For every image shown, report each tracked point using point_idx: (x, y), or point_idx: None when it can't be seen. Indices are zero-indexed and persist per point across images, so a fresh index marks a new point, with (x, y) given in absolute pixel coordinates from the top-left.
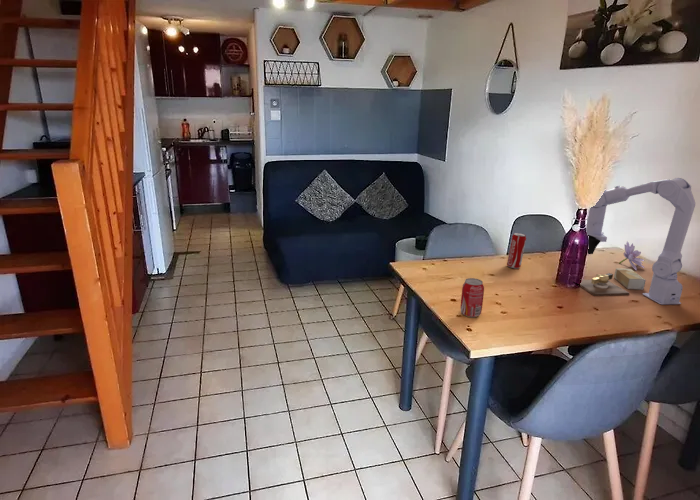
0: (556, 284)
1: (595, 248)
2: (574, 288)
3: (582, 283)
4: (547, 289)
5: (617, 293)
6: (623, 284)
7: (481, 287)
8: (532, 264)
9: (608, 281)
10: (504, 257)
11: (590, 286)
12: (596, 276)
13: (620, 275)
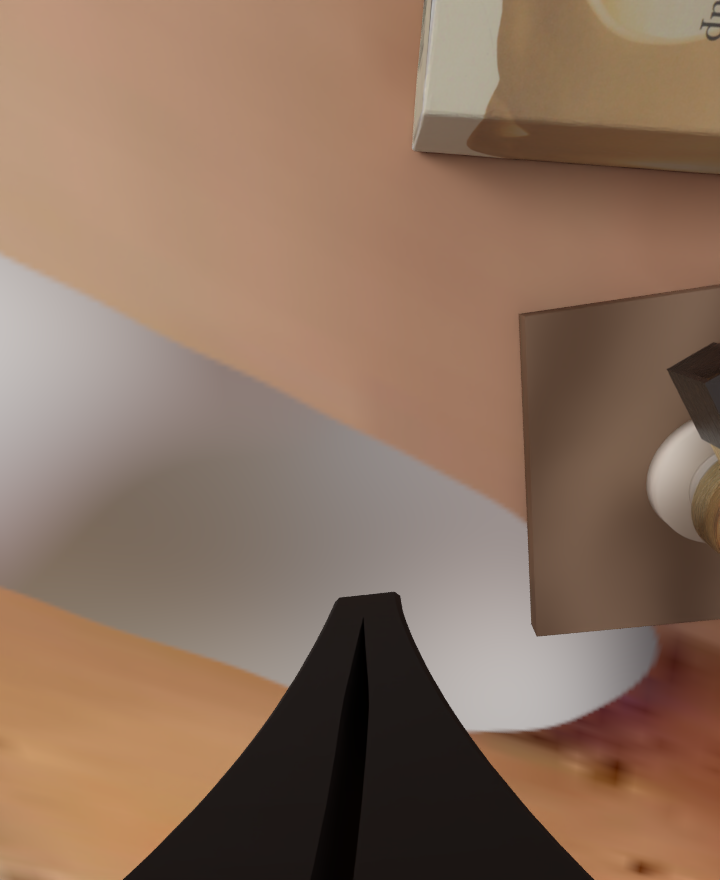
0: (579, 748)
1: (422, 664)
2: (675, 666)
3: (625, 598)
4: (667, 824)
5: None
6: (686, 170)
7: None
8: (129, 758)
9: (595, 322)
10: (11, 872)
11: (708, 565)
12: None
13: (597, 142)
